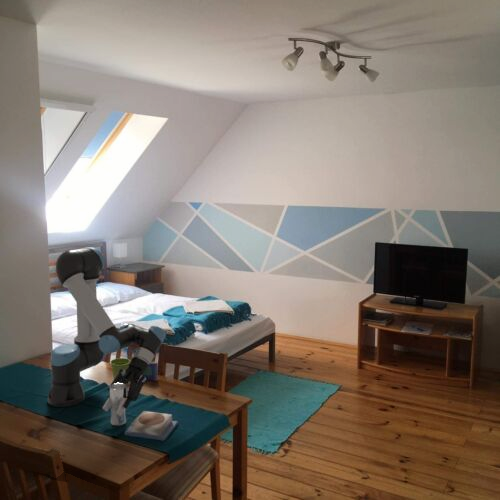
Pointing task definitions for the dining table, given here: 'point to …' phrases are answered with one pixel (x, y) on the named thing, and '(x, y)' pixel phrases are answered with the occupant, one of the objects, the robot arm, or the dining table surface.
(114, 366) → the plant pot
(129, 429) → the grey flat slab
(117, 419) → the silver metal cup
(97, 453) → the dining table surface
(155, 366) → the flask
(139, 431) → the plinth
